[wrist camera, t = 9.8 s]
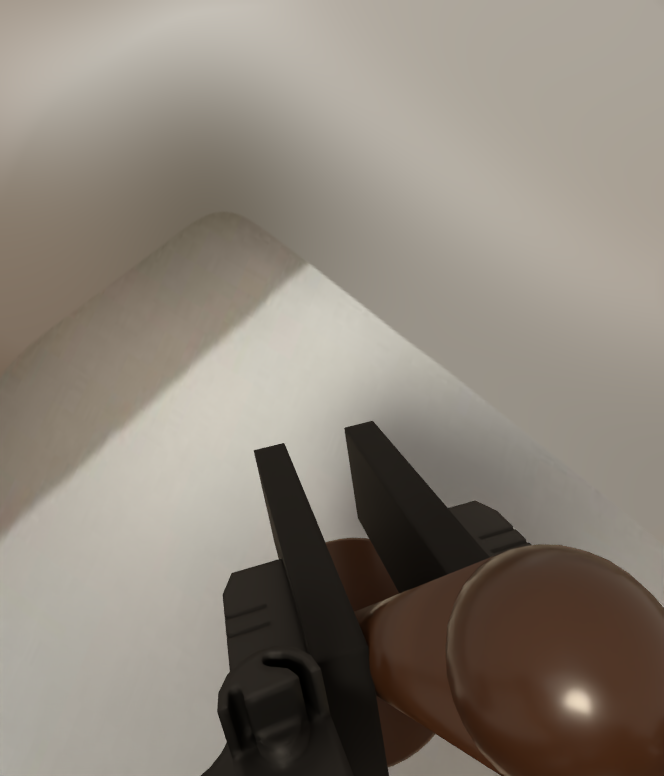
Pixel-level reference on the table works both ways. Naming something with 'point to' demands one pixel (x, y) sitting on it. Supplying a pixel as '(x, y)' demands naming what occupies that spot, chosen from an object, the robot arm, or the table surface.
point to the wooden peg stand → (516, 661)
